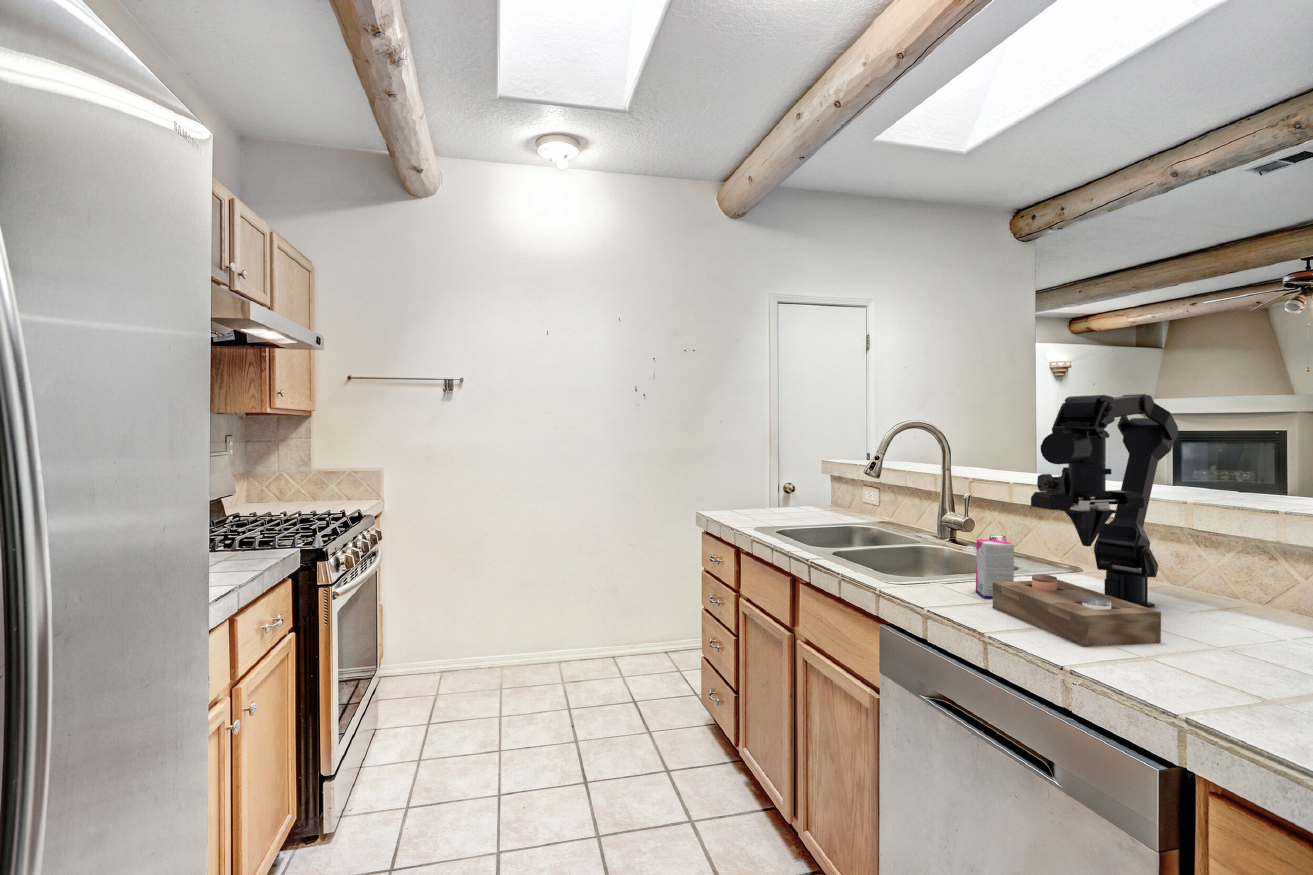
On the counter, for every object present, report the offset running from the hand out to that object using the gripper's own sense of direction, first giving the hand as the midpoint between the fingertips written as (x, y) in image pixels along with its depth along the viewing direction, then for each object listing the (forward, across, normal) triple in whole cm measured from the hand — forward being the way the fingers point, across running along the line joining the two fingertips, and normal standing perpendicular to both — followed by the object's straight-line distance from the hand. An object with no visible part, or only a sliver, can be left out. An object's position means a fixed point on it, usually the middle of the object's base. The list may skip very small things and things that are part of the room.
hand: (1086, 545), depth 115 cm
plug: (+13, +7, +10) cm, 18 cm away
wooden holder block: (+13, +7, +4) cm, 15 cm away
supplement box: (+13, +8, -15) cm, 21 cm away
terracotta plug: (+11, +7, -2) cm, 14 cm away
